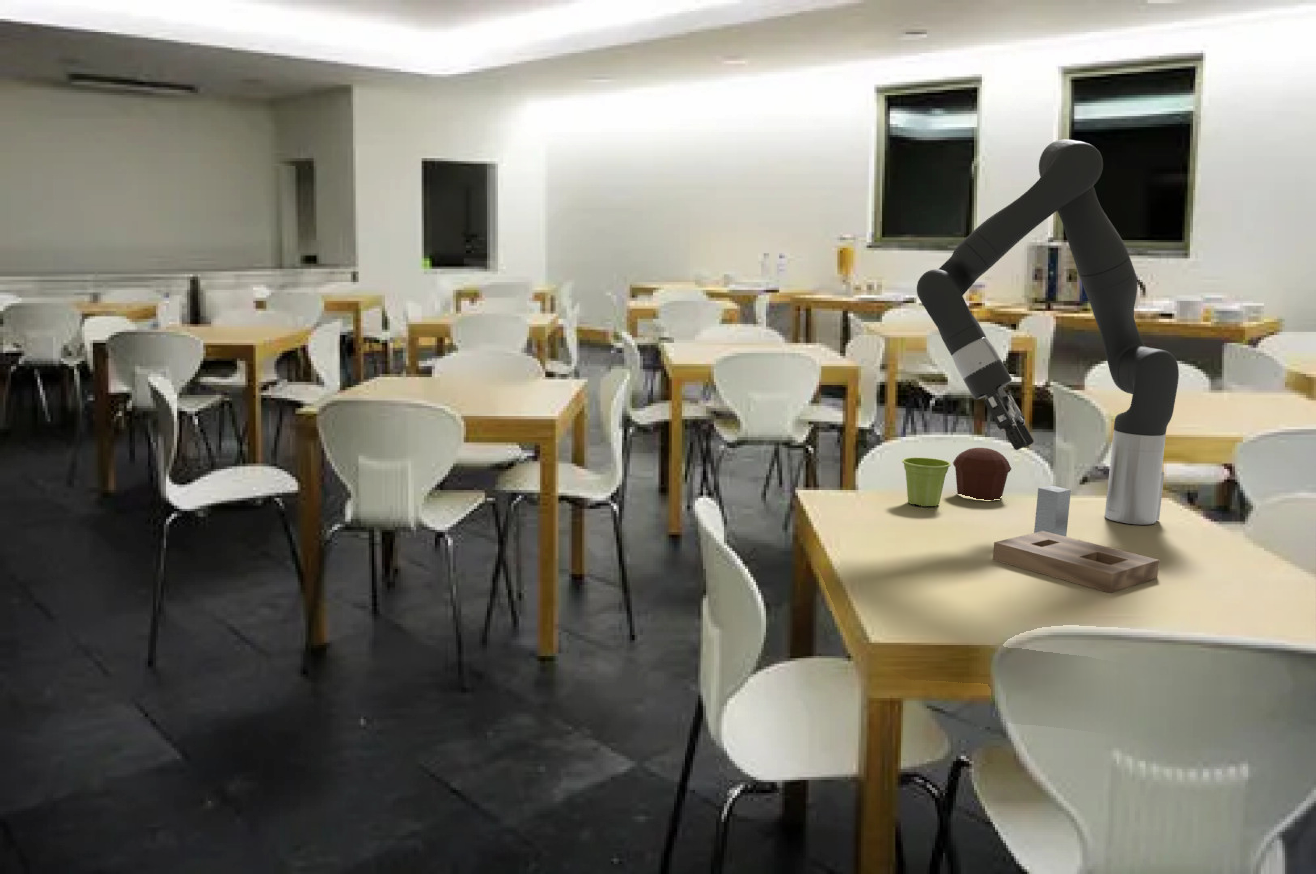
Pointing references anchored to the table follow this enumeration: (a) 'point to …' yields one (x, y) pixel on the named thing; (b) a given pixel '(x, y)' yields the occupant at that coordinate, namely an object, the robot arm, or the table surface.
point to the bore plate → (1076, 561)
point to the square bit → (1052, 510)
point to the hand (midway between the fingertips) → (1025, 446)
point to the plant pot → (925, 480)
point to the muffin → (981, 473)
